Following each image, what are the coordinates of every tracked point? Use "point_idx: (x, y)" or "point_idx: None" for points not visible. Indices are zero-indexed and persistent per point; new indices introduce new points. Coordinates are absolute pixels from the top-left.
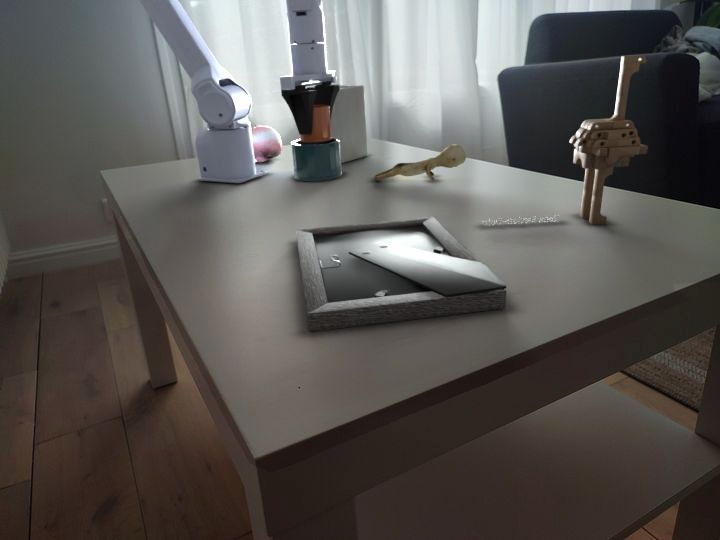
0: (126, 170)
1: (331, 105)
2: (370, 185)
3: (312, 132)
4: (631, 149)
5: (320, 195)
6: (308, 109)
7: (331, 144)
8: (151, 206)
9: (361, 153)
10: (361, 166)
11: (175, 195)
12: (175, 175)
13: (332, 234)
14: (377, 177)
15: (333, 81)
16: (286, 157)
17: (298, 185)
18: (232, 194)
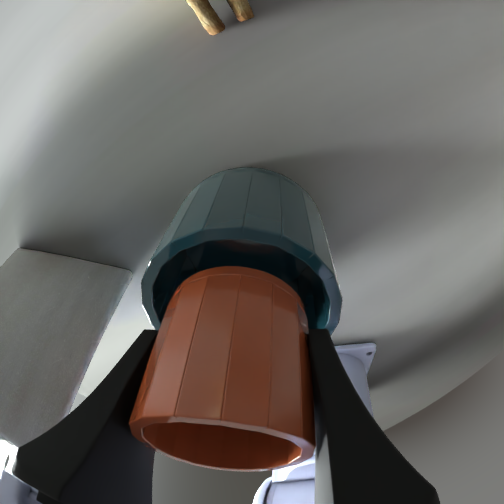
0: None
1: (99, 408)
2: (304, 10)
3: (304, 332)
4: None
5: (451, 114)
6: (378, 426)
7: (266, 227)
8: (488, 348)
9: (28, 255)
10: (89, 191)
11: (440, 365)
12: None
13: None
14: (248, 7)
15: (20, 486)
16: None
17: (367, 228)
18: (446, 306)
